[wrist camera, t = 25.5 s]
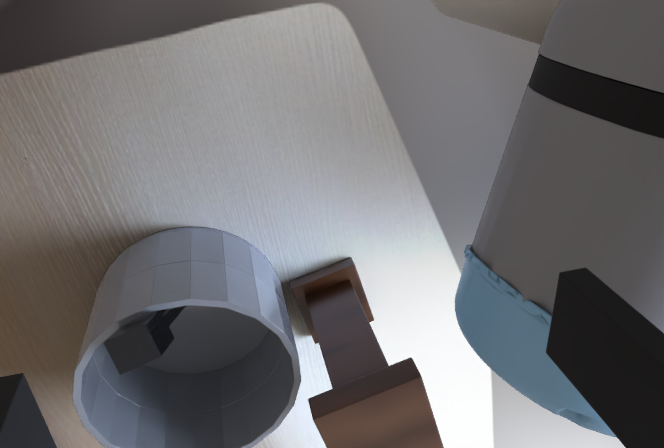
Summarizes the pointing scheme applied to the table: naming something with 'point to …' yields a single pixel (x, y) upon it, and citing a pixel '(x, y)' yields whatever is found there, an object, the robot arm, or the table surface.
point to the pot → (190, 346)
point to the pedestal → (360, 370)
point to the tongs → (142, 339)
